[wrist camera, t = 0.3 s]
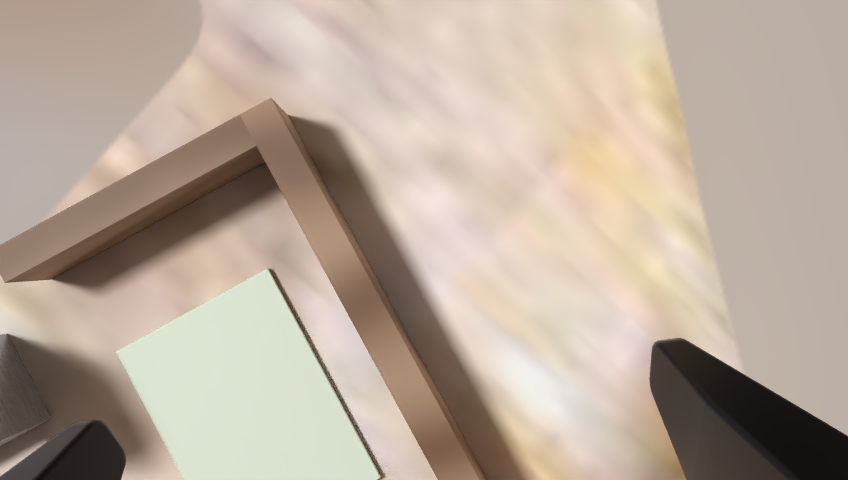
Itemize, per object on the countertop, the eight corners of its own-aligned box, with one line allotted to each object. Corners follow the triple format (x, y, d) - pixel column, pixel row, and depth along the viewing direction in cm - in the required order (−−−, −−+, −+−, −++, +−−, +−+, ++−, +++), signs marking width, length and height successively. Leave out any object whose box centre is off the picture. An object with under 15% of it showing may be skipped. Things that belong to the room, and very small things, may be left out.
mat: (380, 475, 23) (380, 478, 22) (229, 560, 23) (227, 562, 22) (268, 268, 23) (267, 268, 23) (118, 350, 23) (115, 351, 23)
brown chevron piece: (491, 488, 23) (500, 517, 20) (236, 631, 23) (212, 678, 20) (287, 114, 23) (270, 97, 21) (35, 251, 23) (-12, 251, 21)
